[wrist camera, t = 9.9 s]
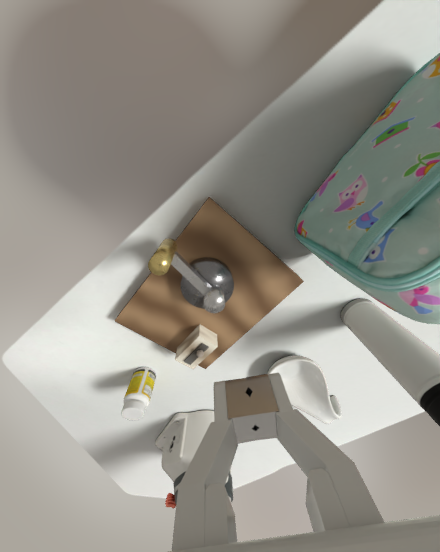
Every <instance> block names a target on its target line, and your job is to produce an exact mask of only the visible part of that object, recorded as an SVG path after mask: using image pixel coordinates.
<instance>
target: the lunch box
mask: <svg viewBox="0 0 440 552" xmlns="http://www.w3.org/2000/svg"><path fill="white" fill-rule="evenodd" d="M295 235H296V238H297V239H298V240H299V241H300V242H301V243H302V244H303V245H304V246H306V247H307V248H308V249H309V250H310V251H311V252H312V253H314V254H315V255H316V256H317V257H318V258H319V259H321V260H322V261H323V262H324V263H325V264H326V265H327V266H329V267H330V268H331V269H333V270H334V271H335V272H337V273H338V274H340V275H341V276H342V277H344V278H345V279H347V280H348V281H349V282H351V283H352V284H354V285H355V286H357V287H358V288H360V289H361V290H363V291H364V292H366V293H367V294H369V295H370V296H372V297H373V298H374V299H376V300H377V301H379V302H381V303H382V304H384V305H385V306H387V307H389V308H390V309H392V310H394V311H396V312H398V313H400V314H401V315H403V316H406V317H408V318H410V319H412V320H415V321H418V322H422V323H427V324H440V53H439V54H438V55H437V56H435V57H434V58H433V59H431V60H430V61H429V62H428V63H426V64H425V65H424V66H423V67H422V68H421V69H419V70H418V71H417V72H416V73H415V74H414V75H413V76H412V77H411V78H410V79H409V80H408V81H407V82H406V83H405V84H404V86H403V87H402V88H401V89H400V90H399V91H398V92H397V93H396V95H395V96H394V97H393V98H392V100H391V101H390V102H389V104H388V105H387V106H386V107H385V108H384V110H383V111H382V112H381V113H380V114H379V116H378V117H377V118H376V119H375V121H374V122H373V123H372V124H371V126H370V127H369V128H368V129H367V130H366V132H365V133H364V134H363V135H362V136H361V137H360V139H359V140H358V141H357V142H356V143H355V145H354V146H353V147H352V148H351V149H350V150H349V151H348V153H346V154H345V155H344V156H343V157H342V158H341V160H340V161H339V162H338V164H337V165H336V167H335V168H334V170H333V171H332V172H331V173H330V175H329V176H328V177H327V179H326V180H325V181H324V182H323V184H322V185H321V186H320V187H319V189H318V190H317V191H316V192H315V194H314V195H313V196H312V197H311V199H310V200H309V201H308V202H307V204H306V205H305V207H304V208H303V210H302V211H301V213H300V215H299V217H298V219H297V222H296V225H295Z"/></svg>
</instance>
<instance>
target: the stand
mask: <svg viewBox="0 0 440 552" xmlns="http://www.w3.org/2000/svg"><path fill="white" fill-rule="evenodd" d="M175 242H176V243H177V252H178V253H179V254H180V255H181V256H182V257H183V258H184V259H185V260H186V261H187V262H188V263H189V264H190V263H191V262H193V261H194V260H197V259H199V258H204V257H210V258H215V259H218V260H220V261H222V262H223V263H225V264H226V265H227V266H228V268H229V269H230V271H231V273H232V277H233V282H234V290H233V293H232V295H231V297H230V299H229V300H228V301H227V302H226V303H225V307H224V309H223V310H222V311H221V312H219V313H210V312H208V311H206V310H205V309H202V308H198V307H195V306H193V305H192V304H190V303H189V302H188V301H187V300H186V299H185V298H184V296H183V294H182V292H181V280H182V276H183V275H182V274H181V273H180V272H179V271H178V270H177V269H175V268H174V267H173V266H172V265H170V267H169V269H168V271H167V273H165V274H164V275H155V274H153V273H152V272H151V273H150V275H149V276H148V277H147V279H146V280H145V281H144V282H143V284H142V285H141V286H140V288H139V289H138V290H137V292H136V293H135V294H134V295H133V297H132V298H131V299H130V301H129V302H128V303H127V305H126V306H125V307H124V308H123V310H122V311H121V312H120V314H119V315H118V317H117V318H116V320H115V322H117V323H119V324H121V325H123V326H125V327H127V328H129V329H131V330H133V331H134V332H136V333H138V334H140V335H142V336H144V337H146V338H148V339H150V340H151V341H153V342H155V343H157V344H159V345H161V346H163V347H165V348H167V349H169V350H170V351H172V352H174V353H176V357H175V360H176V361H178V362H180V363H182V364H184V365H186V366H188V367H189V368H191V369H194V368H195V367H196V366H197V365H199V366H201V367H203V368H205V369H206V368H207V367H208V366H209V365H210V364H212V363H213V362H214V361H215V360H216V359H217V358H218V357H219V356H221V355H222V354H223V353H224V352H225V351H226V350H227V349H228V348H230V347H231V346H232V345H233V344H234V343H235V342H236V341H237V340H239V339H240V338H241V337H242V336H243V335H244V334H245V333H246V332H248V331H249V330H250V329H251V328H252V327H253V326H254V325H255V324H257V323H258V322H259V321H260V320H261V319H262V318H263V317H264V316H265V315H267V314H268V313H269V312H270V311H271V310H272V309H273V308H274V307H276V306H277V305H278V304H279V303H280V302H281V301H282V300H283V299H285V298H286V297H287V296H288V295H289V294H290V293H291V292H292V291H294V290H295V289H296V288H297V287H298V286H299V285H300V284H301V283H303V282H304V281H303V280H302V279H301V278H300V277H299V276H298V275H297V274H296V273H295V272H294V271H293V270H291V269H290V268H289V267H288V266H287V265H286V264H285V263H284V262H282V261H281V260H280V259H279V258H278V257H277V256H276V255H274V254H273V253H272V252H271V251H270V250H269V249H268V248H267V247H265V246H264V245H263V244H262V243H261V242H260V241H259V240H257V239H256V238H255V237H254V236H253V235H252V234H251V233H250V232H248V231H247V230H246V229H245V228H244V227H243V226H242V225H240V224H239V223H238V222H237V221H236V220H235V219H234V218H233V217H231V216H230V215H229V214H228V213H227V212H226V211H225V210H223V209H222V208H221V207H220V206H219V205H218V204H217V203H216V202H214V201H213V200H212V199H211V198H210V197H209V198H208V199H207V200H206V202H205V203H204V204H203V206H202V207H201V208H200V210H199V211H198V212H197V213H196V215H195V216H194V217H193V219H192V220H191V221H190V223H189V224H188V225H187V226H186V228H185V229H184V230H183V232H182V233H181V234H180V236H179V237H178V238H177V239H176V241H175Z"/></svg>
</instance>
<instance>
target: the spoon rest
mask: <svg viewBox="0 0 440 552" xmlns="http://www.w3.org/2000/svg"><path fill="white" fill-rule="evenodd" d="M272 373H279V374H280V375H281V378H282V381H283V383H284V386H285V389H286V392H287V394H288V397H289V400H290V403H291V405H292V406H294V407H296V408H298V409H300V410H302V411H304V412H306V413H307V414H309V415H311V416H313V417H315V418H316V419H318V420H320V421H321V422H323V423H325V424H330V423H331V422H332V421H333V420H336V419H340V418H341V417H342V412H341V407H340V404H339V401H338V399H337V397H336V396H329V391H328V386H327V382H326V379H325V376H324V373H323V371H322V369H321V368H320V367H319V365H318V364H316V363H315V362H314V361H312V360H311V359H308V358H306V357H302V356H288V357H284V358H282V359H280V360H278V361H277V362H275V363H274V364H273V365H272V366H271V368H270V369H269V371H268V373H267V374H272Z"/></svg>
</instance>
